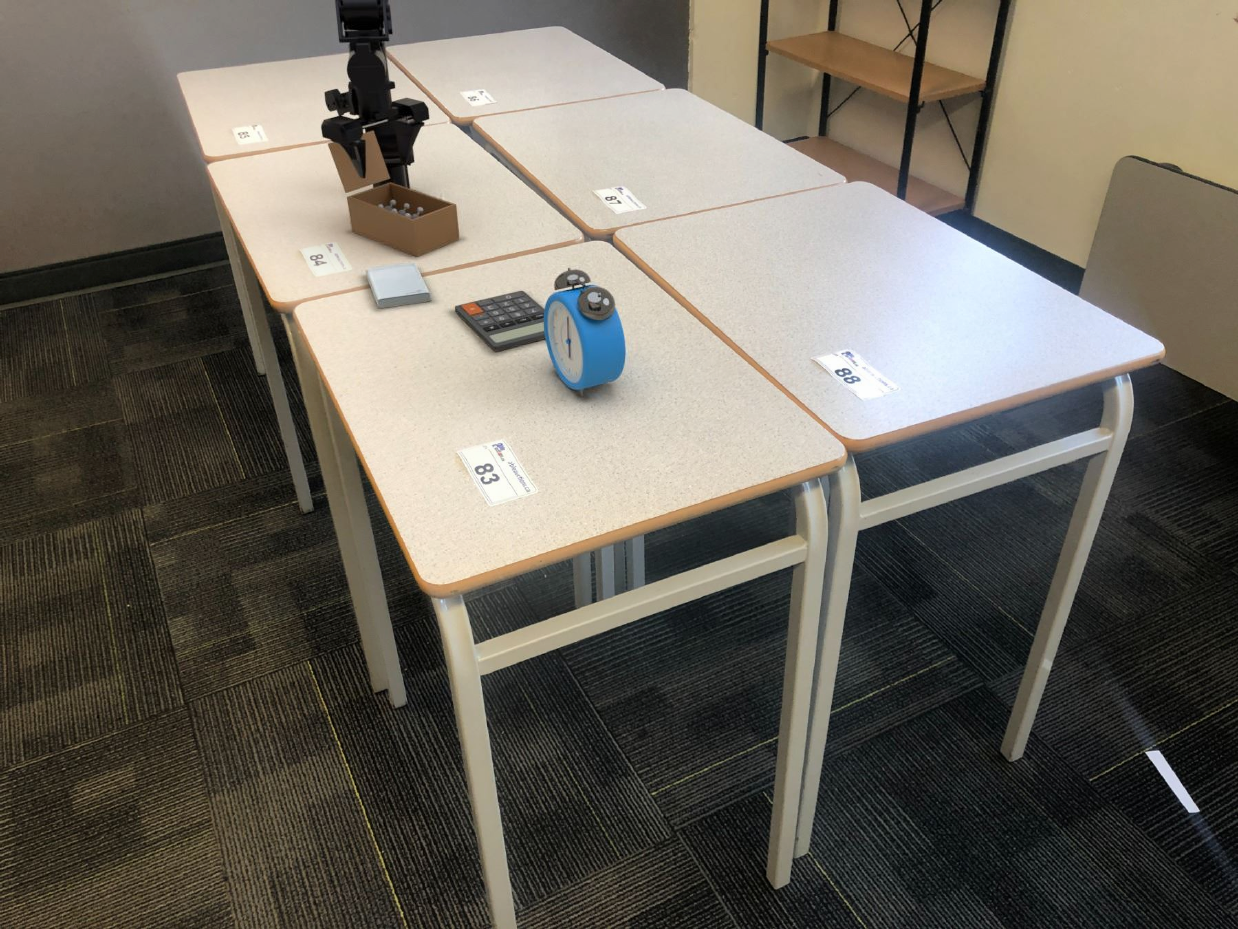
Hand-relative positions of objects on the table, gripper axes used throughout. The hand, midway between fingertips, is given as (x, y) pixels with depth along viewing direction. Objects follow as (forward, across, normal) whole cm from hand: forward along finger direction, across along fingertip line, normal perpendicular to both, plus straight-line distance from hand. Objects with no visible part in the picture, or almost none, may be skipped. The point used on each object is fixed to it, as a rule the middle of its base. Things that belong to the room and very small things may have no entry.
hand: (383, 170), depth 163 cm
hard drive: (+12, +14, +17) cm, 25 cm away
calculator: (+12, +11, +39) cm, 42 cm away
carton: (+12, -2, +1) cm, 12 cm away
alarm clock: (+12, +17, +59) cm, 62 cm away
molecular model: (+12, -3, +1) cm, 12 cm away
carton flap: (+1, -2, -9) cm, 9 cm away
